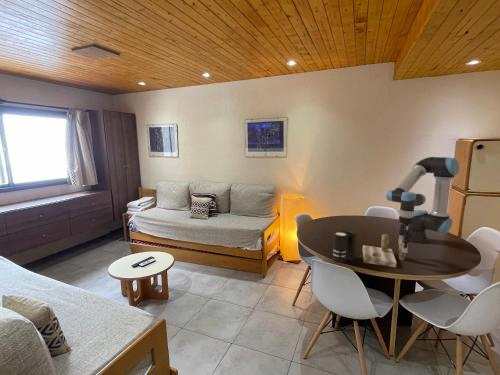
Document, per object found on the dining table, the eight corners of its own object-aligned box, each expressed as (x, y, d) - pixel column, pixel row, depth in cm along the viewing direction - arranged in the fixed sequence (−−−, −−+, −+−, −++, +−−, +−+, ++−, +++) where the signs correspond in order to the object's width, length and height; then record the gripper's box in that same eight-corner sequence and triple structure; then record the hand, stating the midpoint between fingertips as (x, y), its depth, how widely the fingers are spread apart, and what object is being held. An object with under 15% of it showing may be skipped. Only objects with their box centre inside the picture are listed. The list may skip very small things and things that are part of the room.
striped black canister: (328, 258, 165) (330, 232, 162) (342, 253, 172) (343, 228, 169) (341, 264, 157) (343, 237, 154) (355, 259, 164) (356, 233, 161)
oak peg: (404, 258, 165) (406, 238, 163) (405, 261, 161) (408, 240, 159) (397, 257, 167) (399, 237, 164) (398, 260, 163) (400, 239, 161)
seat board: (391, 253, 173) (393, 233, 171) (396, 267, 153) (398, 245, 151) (362, 249, 180) (364, 230, 178) (363, 262, 160) (365, 241, 158)
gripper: (396, 211, 172) (393, 241, 175) (402, 221, 149) (398, 255, 153) (409, 212, 169) (405, 242, 173) (417, 222, 146) (413, 257, 150)
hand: (402, 248), depth 163 cm, fingers open, 13 cm apart
